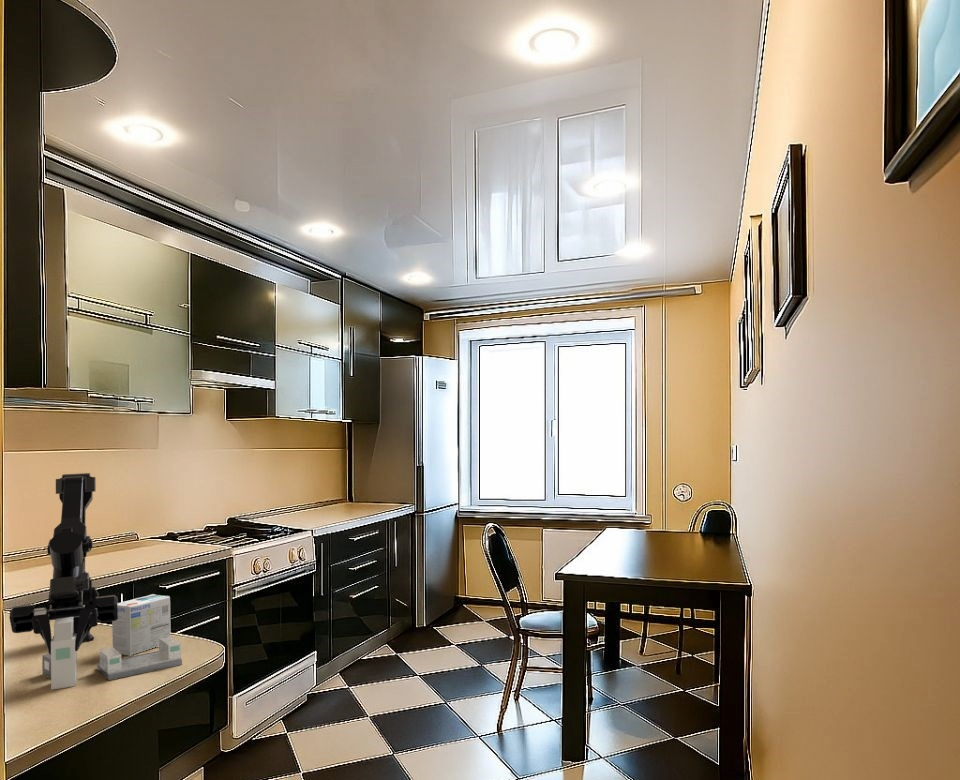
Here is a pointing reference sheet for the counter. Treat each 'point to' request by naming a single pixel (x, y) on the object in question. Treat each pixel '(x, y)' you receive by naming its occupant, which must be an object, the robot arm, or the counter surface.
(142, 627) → the light bulb box
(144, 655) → the mounting plate
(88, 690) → the counter surface
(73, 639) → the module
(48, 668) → the block
